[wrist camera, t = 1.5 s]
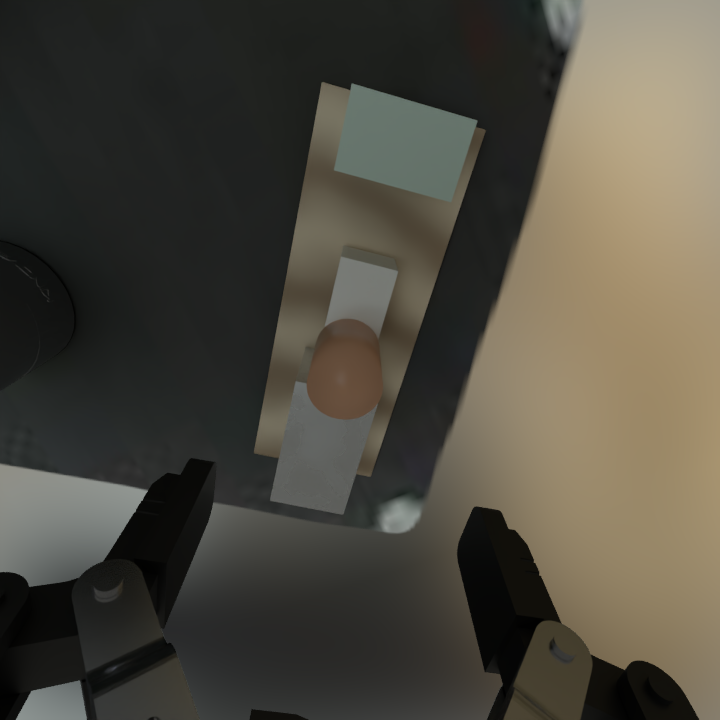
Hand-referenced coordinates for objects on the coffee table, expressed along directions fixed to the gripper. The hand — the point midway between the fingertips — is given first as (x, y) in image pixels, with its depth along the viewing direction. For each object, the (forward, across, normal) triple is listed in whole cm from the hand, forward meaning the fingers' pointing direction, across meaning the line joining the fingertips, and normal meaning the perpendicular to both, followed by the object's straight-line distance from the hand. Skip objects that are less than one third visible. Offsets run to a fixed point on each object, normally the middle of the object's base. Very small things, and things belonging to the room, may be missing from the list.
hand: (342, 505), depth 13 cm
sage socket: (+19, -1, -11) cm, 22 cm away
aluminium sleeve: (+19, 0, +9) cm, 21 cm away
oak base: (+20, 0, +1) cm, 20 cm away
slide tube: (+18, 0, +4) cm, 19 cm away
